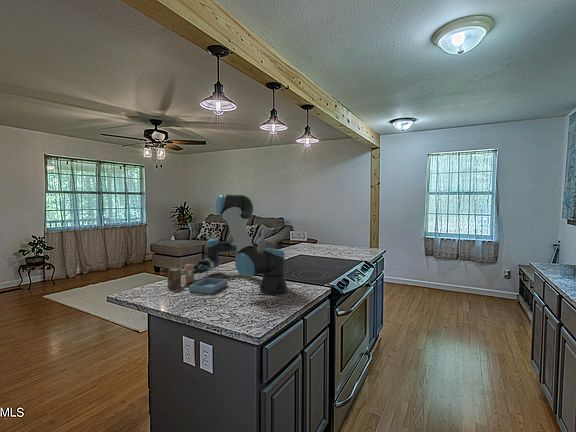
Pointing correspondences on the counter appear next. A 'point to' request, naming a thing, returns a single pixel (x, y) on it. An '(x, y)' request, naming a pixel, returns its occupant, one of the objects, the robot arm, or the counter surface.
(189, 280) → the canister
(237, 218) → the robot arm
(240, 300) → the counter surface
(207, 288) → the tray
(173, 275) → the walnut block
